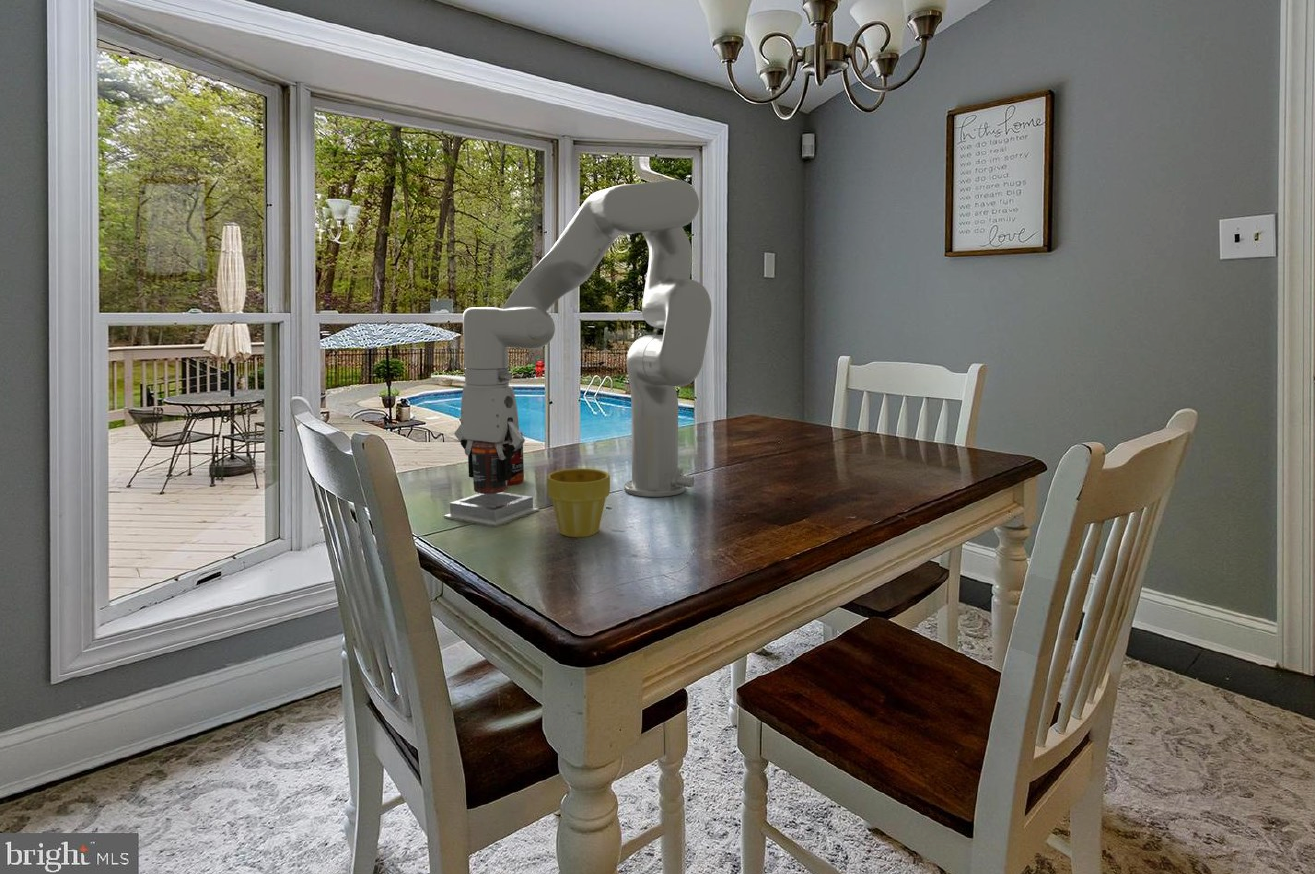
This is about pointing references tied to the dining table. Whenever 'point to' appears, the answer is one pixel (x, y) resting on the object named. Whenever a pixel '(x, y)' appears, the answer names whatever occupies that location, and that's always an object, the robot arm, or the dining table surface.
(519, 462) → the canned food
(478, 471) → the supplement bottle
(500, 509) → the holder
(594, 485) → the plant pot
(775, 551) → the dining table surface
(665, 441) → the robot arm
